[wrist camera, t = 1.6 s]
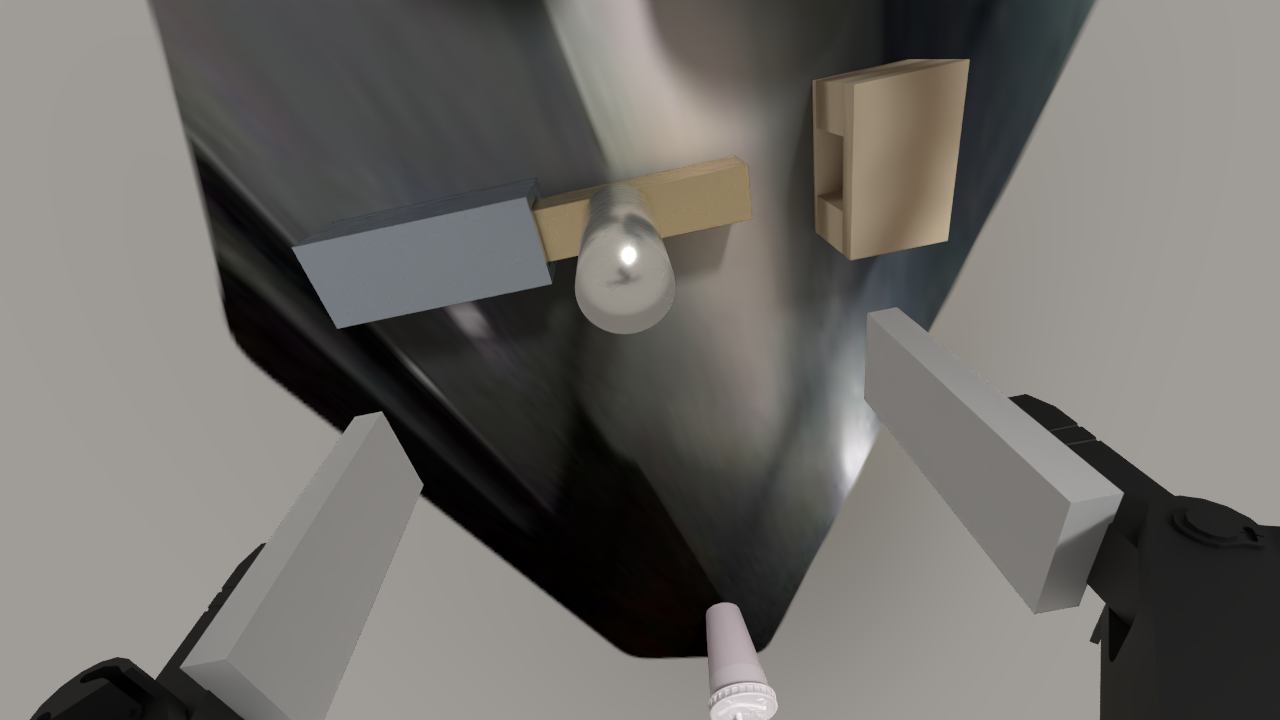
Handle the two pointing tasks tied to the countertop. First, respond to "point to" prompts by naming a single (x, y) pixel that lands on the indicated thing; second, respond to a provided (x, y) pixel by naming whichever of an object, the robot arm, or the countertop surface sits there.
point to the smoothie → (735, 669)
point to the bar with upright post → (637, 236)
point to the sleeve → (428, 255)
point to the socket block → (887, 154)
